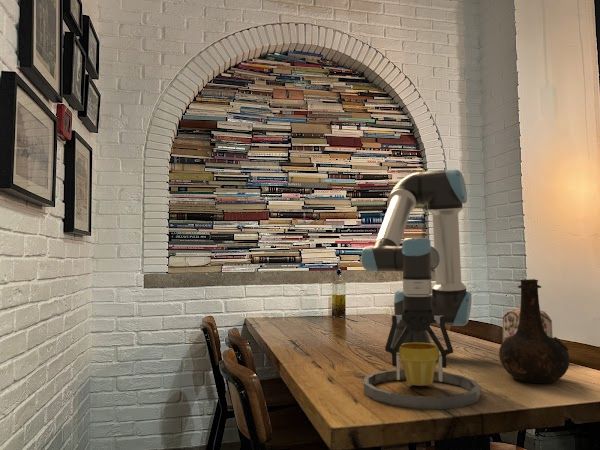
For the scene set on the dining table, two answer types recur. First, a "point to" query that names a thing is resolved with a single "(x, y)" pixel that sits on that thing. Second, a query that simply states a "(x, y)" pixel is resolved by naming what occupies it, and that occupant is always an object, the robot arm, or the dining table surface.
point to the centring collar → (422, 401)
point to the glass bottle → (533, 344)
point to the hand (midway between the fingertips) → (419, 379)
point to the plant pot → (419, 362)
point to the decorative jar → (513, 321)
